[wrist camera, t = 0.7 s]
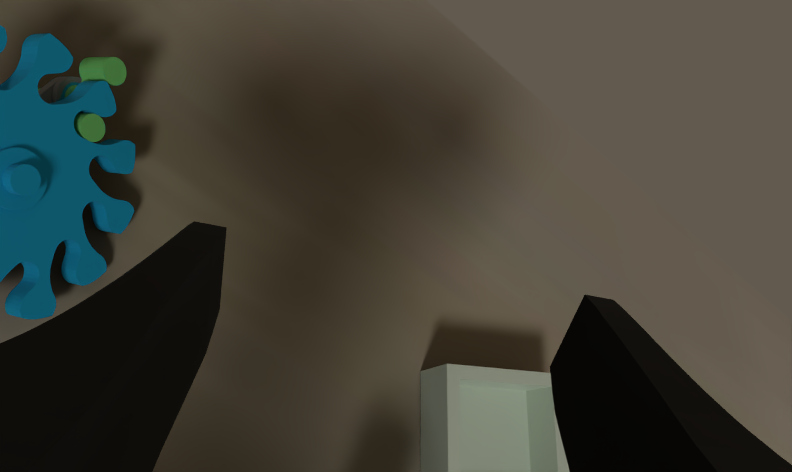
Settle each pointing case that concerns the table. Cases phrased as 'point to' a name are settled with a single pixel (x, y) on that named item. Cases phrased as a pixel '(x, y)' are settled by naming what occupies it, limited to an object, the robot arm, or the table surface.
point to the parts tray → (488, 421)
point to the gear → (56, 169)
